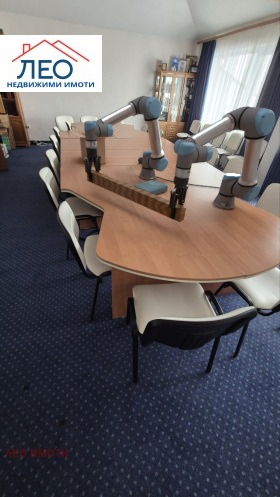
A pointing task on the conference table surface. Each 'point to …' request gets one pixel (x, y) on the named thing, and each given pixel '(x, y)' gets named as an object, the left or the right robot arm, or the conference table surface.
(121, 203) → the conference table surface
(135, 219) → the conference table surface
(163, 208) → the bar
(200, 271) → the conference table surface
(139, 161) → the laser sight
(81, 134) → the box
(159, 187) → the book
